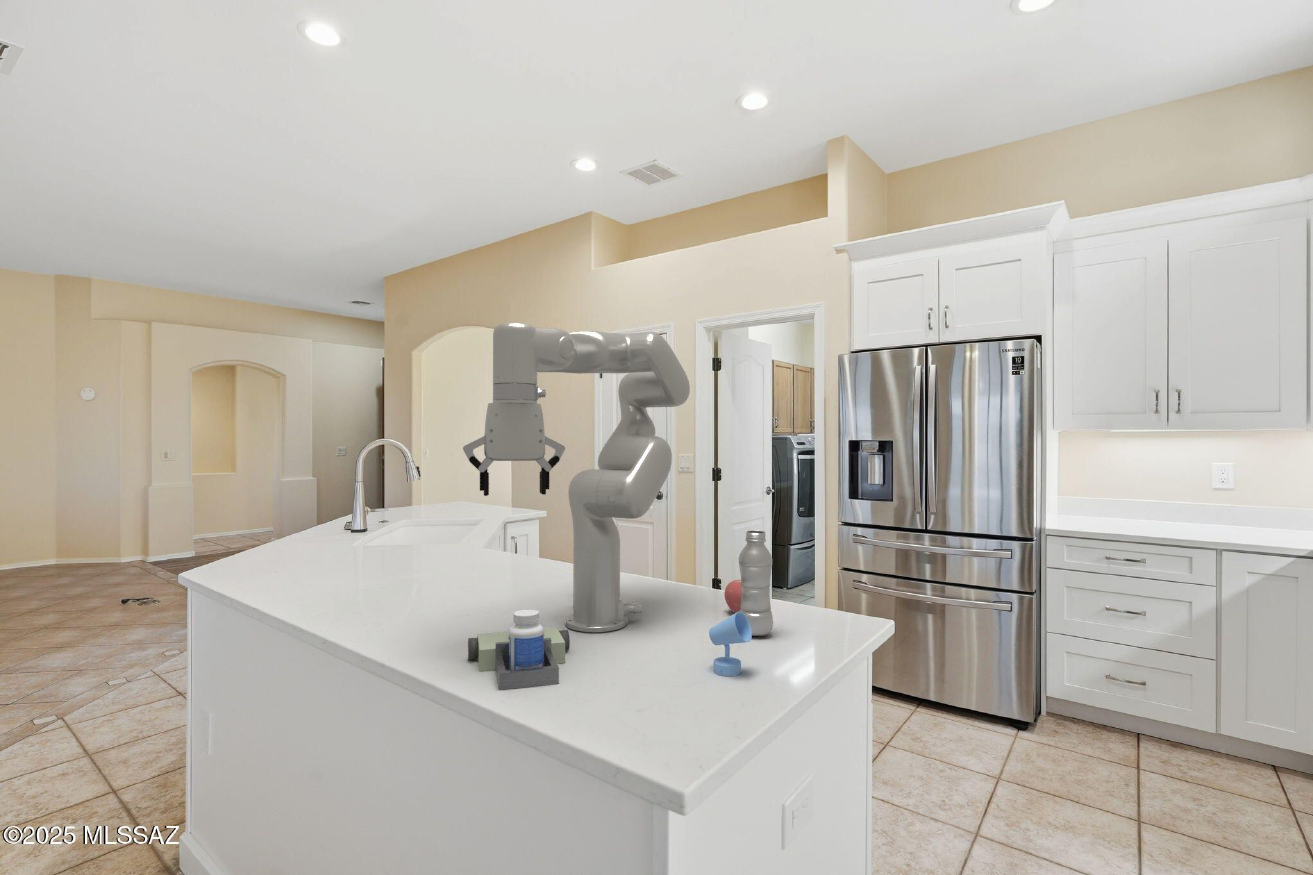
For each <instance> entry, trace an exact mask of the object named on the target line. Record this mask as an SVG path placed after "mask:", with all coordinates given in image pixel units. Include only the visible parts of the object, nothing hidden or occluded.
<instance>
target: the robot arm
mask: <svg viewBox="0 0 1313 875" xmlns="http://www.w3.org/2000/svg"><path fill="white" fill-rule="evenodd" d="M684 369H685V368H684V367H683V366H682V364H681V362H680V361H679V359H678V357H677V355H676V354H675V352H674V350H673V349H672V347H671V345H670V344H669V343H668V341H667V340H666V339H665V338H664V337H663V336H662V335H661V334H659V333H658V332H656V331H644V332H634V333H616V332H604V331H597V330H595V331H594V330H581V331H574V332H568V331H567V330H564V329H561V328H557V327H534V326H533V325H531V324H528V323H524V322H503V323H499V324H497V325H496V326H495V327H494V329H493V332H492V402H490V403H487V408H486V414H485V422H484V435H483V436H482V437H479V438H477V439H475V440H473V441H471V442H469V443H467V444H465V445H463V447H462V450H463V452H464V454H465V456H466V458H467V460H468V462H469V463H470V464H471V465H472V466H473V467H475V469H477V470H478V472H479V491H480V492H481V491H482V492H483V496H484V497H488V496H490V473H489V471H488V468H489V467H490V466H491V464H493V463H494V461H495V462H498V461H499V462H524V461H525V462H527V461H528V462H531V461H536V462H537V464H538V466H540V467H541V468H540V469H541V470H540V471H539V493H540V494H541V495H544V496H545V495H547V490H550V471H552V469H553V468H554V467H555V466H556V465H558V463H559V462H560V460H561V458H562V456H563V454H564V452H565V450H566V447H565V445H562V444H561V443H560V442H558V441H556V440H553V439H551V438H550V437H548V436H546V434H545V421H544V413H543V409H542V408H543V407H542V405H541V403H538V400H540V399H541V398H546V396H547V394H546V389H542V388H540V387H539V386H538V373H566V374H625V375H624V376H623V377H622V378H621V380H620V381H619V383H618V391H617V392H618V401H619V407H620V421H619V423H618V424H617V427H615V429H614V431H613V432H612V433H611V435H610V436H609V438H608V439H607V441H606V442H605V444H604V445H603V447H602V449H601V450H600V452H599V455H598V457H597V467H598V468H597V469H596V468H594V469H593V468H592V469H586V470H581V471H580V472H578V473H577V474H575V475H574V476H573V477H572V479H571V480H570V481H569V482H570V483H569V485H568V501H569V507H570V508H569V509H570V511H571V517H572V527H573V528H572V529H573V532H572V533H573V534H572V535H573V537H572V538H573V549H572V552H573V554H572V556H573V558H572V559H573V562H572V563H573V565H572V566H573V568H572V570H573V573H572V574H573V578H572V579H573V581H572V582H573V583H572V584H573V585H572V586H573V588H572V590H573V592H572V597H573V598H572V600H573V601H572V602H573V604H572V612H573V613H572V614H570V615H568V616H567V617H566V618H565V626H566V627H567V628H568V629H571V630H573V631H576V632H577V631H578V632H582V633H605V632H612V631H617V630H620V629H623V628H624V627H626V625H628V617H627V616H629V614H634V615H635V614H642V613H643V611H644V607H643V606H644V605H643V604H642V602H641V603H634V602H627V603H624V601H622V600H621V537H620V532H619V529H618V527H617V525H616V523H615V521H614V519H615V518H616V519H627V520H629V519H630V520H634V519H635V520H636V519H640V518H641V517H643V516H645V515H646V513H648V511H649V510H650V509H651V507H652V505H653V503H654V501H655V500H656V499H657V496H658V494H659V493H660V491H661V489H662V488H663V485H664V484H665V481H666V480H667V479H668V476H669V474H670V472H671V467H672V462H673V456H672V455H673V454H672V450H671V447H670V445H669V443H668V442H667V440H665V439H664V438H663V437H660V436H657V435H656V426H655V424H654V422H653V419H652V418H651V417H650V415H649V413H648V411H647V410H648V409H647V408H677V407H679V406H682V405H683V404H685V403H686V401H687V400H688V399H689V396H690V392H691V391H690V390H691V389H690V388H691V386H690V381H689V377H688V376H687V373H686V371H685V370H684ZM481 446H484V448H483V450H484V451H483V452H484V457H485V458H484V459H483V460H482V461H480V460H479V459H478V458H477V457H476V456H475V453H474V450H475V449H477V448H479V447H481ZM546 446H548V447H550V448H551V449H553V450H554V454H553V455H552V456H551V458H550V459H549V460H547V459H546V458H545V454H546ZM613 518H614V519H613Z"/></svg>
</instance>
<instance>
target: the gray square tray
mask: <svg viewBox="0 0 1313 875" xmlns="http://www.w3.org/2000/svg"><path fill="white" fill-rule="evenodd" d="M509 664H510V663H509V641H507V642H496V643H495V670H494V671H495V675H496V680H497V684H498V690H499V691H502V690H511V689H514V690H515V689H522V688H532V687H541V686H547V685H548V686H550V685H558V684H560V668H559V664H557V662H556V660H555V658H554V656H553V654H552V652H551V638H544V667H537V668H527V669H517V670H510V666H509Z"/></svg>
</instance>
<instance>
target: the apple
mask: <svg viewBox="0 0 1313 875" xmlns="http://www.w3.org/2000/svg"><path fill="white" fill-rule="evenodd" d="M723 594H724V600H725V603H726V605H727V607H728V608H729V609H730V610H731V611H732V613H734V614H735V613H737V612H740V609H741V596H742V585H741V579H736V580H735V579H734V580H732V581H730V582H729V583H727V585H726V587H725V588H724V593H723Z"/></svg>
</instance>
